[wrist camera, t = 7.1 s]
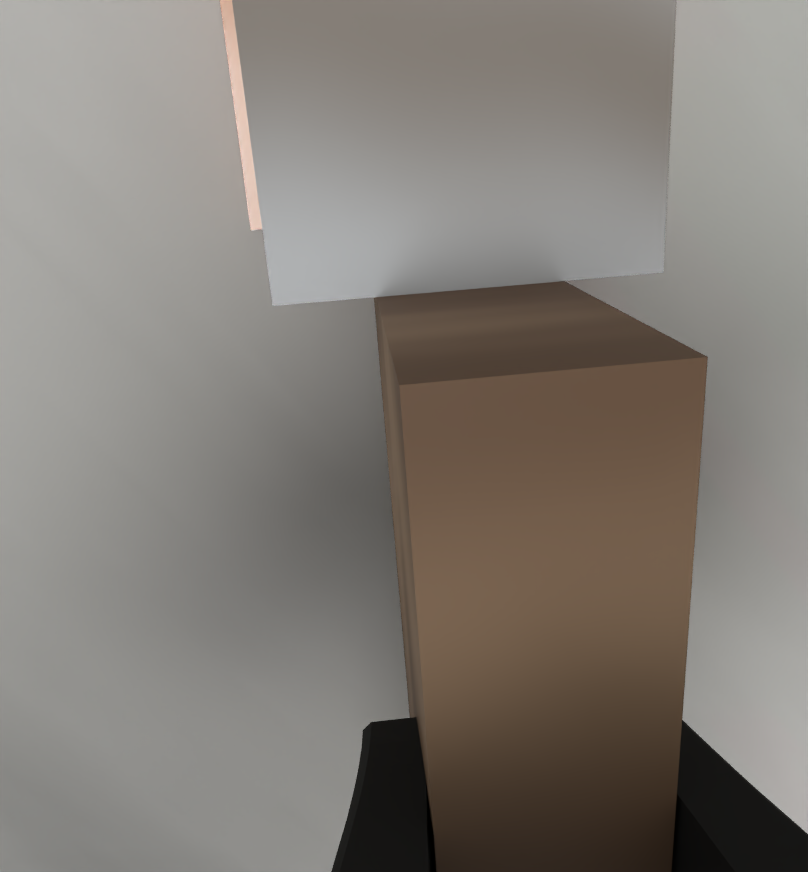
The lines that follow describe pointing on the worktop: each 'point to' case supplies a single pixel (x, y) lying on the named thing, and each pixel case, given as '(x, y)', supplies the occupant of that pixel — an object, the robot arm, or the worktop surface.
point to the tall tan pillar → (506, 389)
